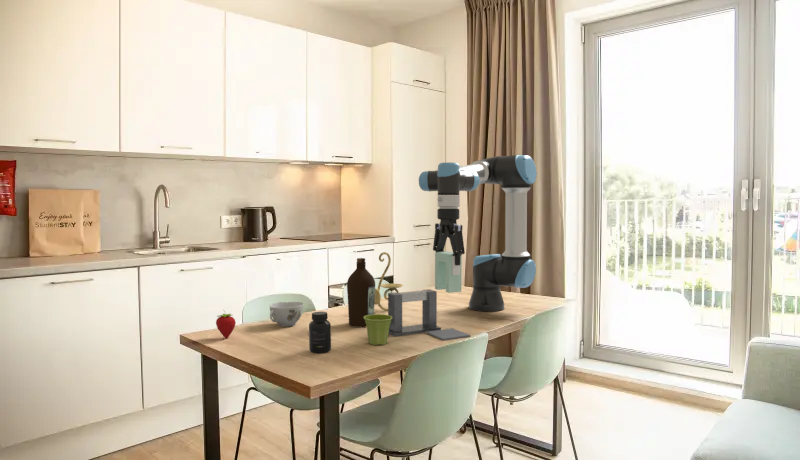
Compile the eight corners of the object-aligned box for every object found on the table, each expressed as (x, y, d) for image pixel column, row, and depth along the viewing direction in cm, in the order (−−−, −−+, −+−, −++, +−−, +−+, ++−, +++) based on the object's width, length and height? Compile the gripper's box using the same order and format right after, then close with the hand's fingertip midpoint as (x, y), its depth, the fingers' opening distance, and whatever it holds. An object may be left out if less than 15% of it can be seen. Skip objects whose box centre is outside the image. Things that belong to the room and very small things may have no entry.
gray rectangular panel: (452, 329, 202) (452, 328, 202) (470, 336, 192) (470, 334, 192) (426, 333, 197) (426, 331, 197) (443, 340, 187) (443, 338, 187)
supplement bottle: (309, 348, 178) (309, 310, 178) (331, 347, 179) (331, 310, 178) (308, 354, 172) (307, 315, 171) (330, 353, 172) (330, 314, 171)
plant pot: (373, 338, 191) (373, 312, 190) (397, 341, 186) (397, 315, 186) (358, 344, 183) (357, 318, 182) (382, 348, 178) (382, 321, 178)
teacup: (286, 320, 219) (286, 299, 219) (310, 323, 213) (310, 302, 212) (257, 327, 207) (257, 306, 206) (282, 331, 200) (282, 309, 200)
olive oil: (343, 326, 207) (342, 259, 206) (352, 320, 218) (352, 256, 216) (370, 328, 205) (370, 260, 203) (378, 322, 215) (378, 257, 214)
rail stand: (429, 325, 209) (429, 288, 208) (441, 330, 202) (441, 291, 201) (383, 331, 200) (383, 292, 199) (394, 336, 193) (393, 296, 192)
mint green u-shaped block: (447, 288, 199) (447, 251, 198) (461, 291, 191) (461, 253, 190) (435, 289, 197) (435, 252, 196) (448, 292, 189) (449, 254, 188)
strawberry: (224, 341, 186) (223, 312, 186) (212, 338, 191) (211, 309, 191) (239, 338, 191) (239, 309, 190) (227, 334, 196) (227, 306, 195)
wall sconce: (382, 315, 228) (381, 253, 227) (367, 311, 235) (367, 252, 234) (407, 310, 237) (407, 251, 236) (393, 307, 244) (392, 250, 243)
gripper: (423, 207, 200) (422, 270, 201) (456, 208, 181) (456, 277, 182) (440, 207, 204) (440, 269, 205) (476, 208, 184) (475, 276, 186)
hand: (448, 273), depth 193 cm, fingers closed on mint green u-shaped block, 9 cm apart
